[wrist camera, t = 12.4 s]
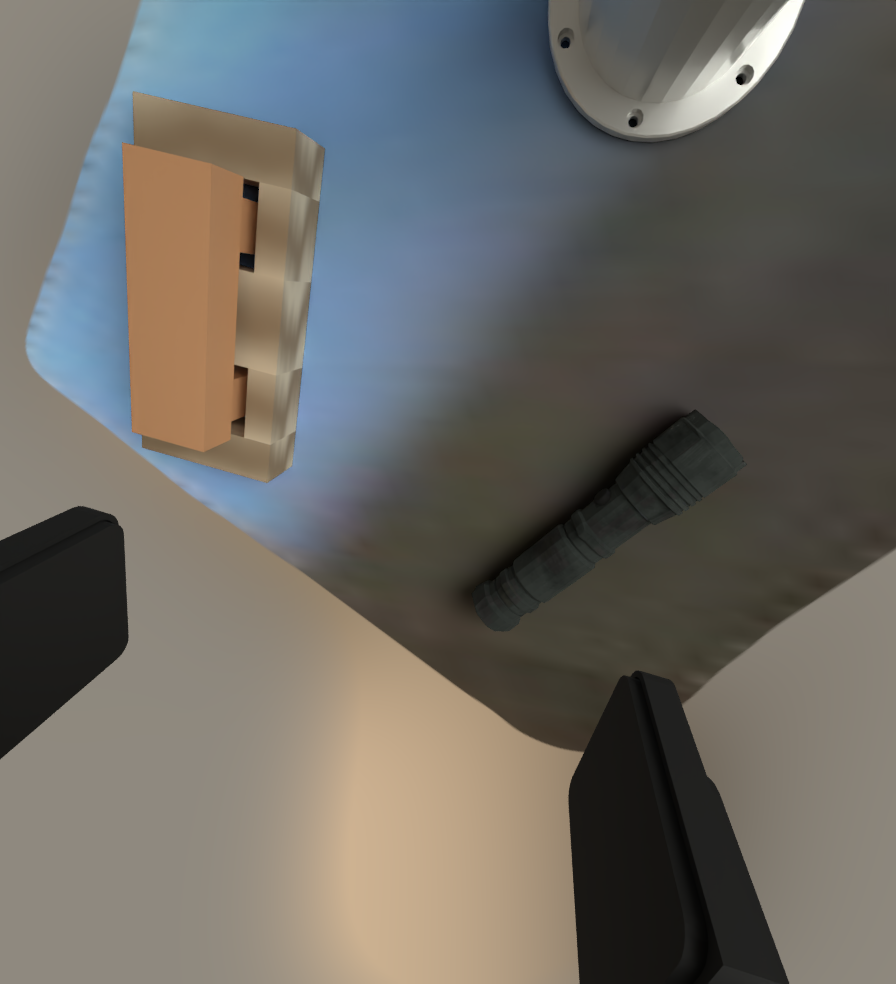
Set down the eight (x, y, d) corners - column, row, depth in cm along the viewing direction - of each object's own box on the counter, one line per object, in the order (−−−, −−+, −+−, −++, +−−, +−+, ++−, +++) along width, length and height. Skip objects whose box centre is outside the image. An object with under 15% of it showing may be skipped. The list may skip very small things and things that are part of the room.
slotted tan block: (179, 115, 32) (132, 91, 28) (324, 148, 31) (296, 128, 28) (178, 433, 41) (142, 447, 37) (292, 465, 40) (267, 483, 36)
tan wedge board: (214, 176, 33) (122, 142, 26) (284, 193, 33) (211, 163, 25) (207, 406, 39) (132, 432, 32) (266, 422, 39) (203, 452, 31)
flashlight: (732, 451, 34) (762, 475, 29) (513, 612, 42) (510, 651, 37) (685, 400, 33) (709, 416, 29) (471, 574, 41) (463, 608, 36)
